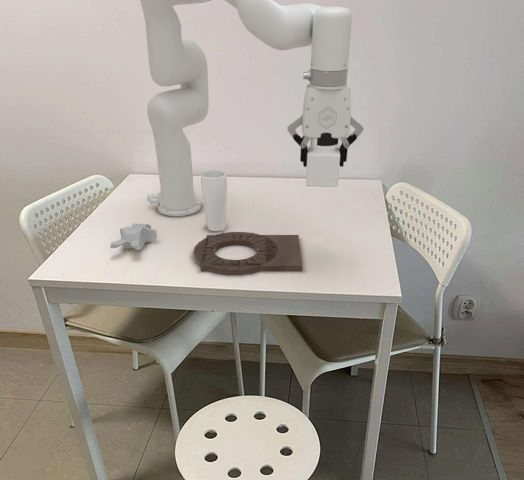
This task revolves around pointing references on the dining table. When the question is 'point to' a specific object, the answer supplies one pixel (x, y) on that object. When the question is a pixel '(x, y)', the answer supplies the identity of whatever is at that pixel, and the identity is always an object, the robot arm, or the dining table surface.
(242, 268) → the holder board
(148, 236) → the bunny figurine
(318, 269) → the dining table surface
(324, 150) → the medicine bottle
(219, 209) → the drinking glass
